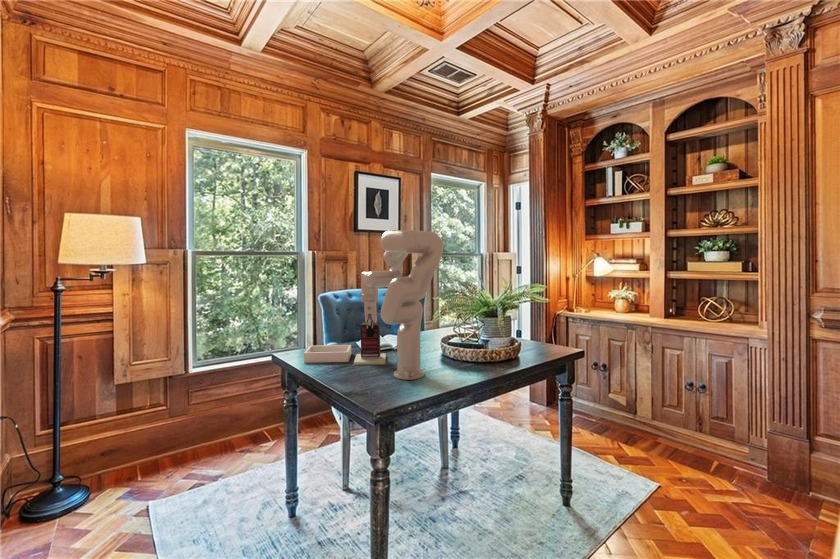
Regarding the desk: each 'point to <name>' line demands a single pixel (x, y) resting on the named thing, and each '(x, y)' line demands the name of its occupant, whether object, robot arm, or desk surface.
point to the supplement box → (370, 342)
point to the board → (369, 360)
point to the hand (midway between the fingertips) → (370, 334)
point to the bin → (327, 353)
